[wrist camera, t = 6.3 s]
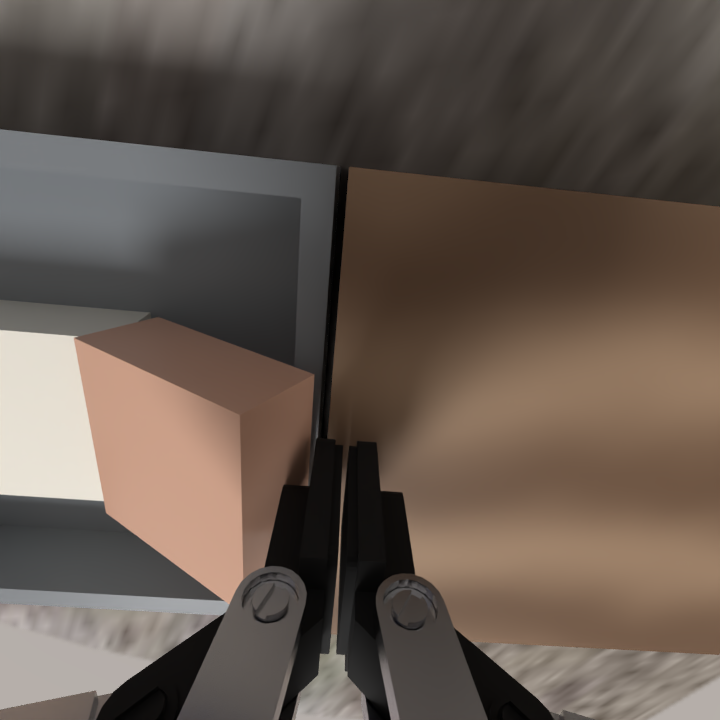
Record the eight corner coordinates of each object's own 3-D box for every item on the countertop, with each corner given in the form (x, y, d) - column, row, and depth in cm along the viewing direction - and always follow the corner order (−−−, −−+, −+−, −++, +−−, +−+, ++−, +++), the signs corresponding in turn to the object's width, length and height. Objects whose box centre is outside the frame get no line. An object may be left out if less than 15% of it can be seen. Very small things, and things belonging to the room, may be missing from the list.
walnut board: (350, 167, 13) (349, 166, 10) (835, 219, 14) (1004, 237, 10) (319, 547, 20) (311, 633, 16) (654, 568, 20) (718, 654, 17)
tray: (-207, 107, 12) (-401, 86, 9) (340, 166, 13) (336, 165, 10) (-50, 523, 19) (-133, 595, 16) (313, 546, 20) (305, 619, 16)
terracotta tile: (158, 317, 13) (73, 337, 11) (314, 374, 11) (240, 414, 9) (173, 472, 16) (106, 512, 14) (304, 551, 13) (243, 615, 11)
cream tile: (112, 339, 12) (150, 312, 14) (-110, 321, 12) (-35, 296, 14) (136, 503, 15) (165, 458, 17) (-48, 491, 14) (8, 447, 17)
